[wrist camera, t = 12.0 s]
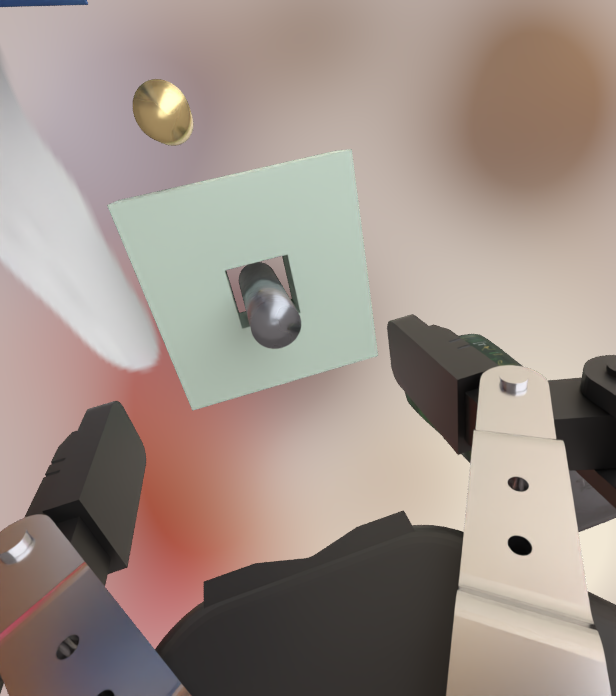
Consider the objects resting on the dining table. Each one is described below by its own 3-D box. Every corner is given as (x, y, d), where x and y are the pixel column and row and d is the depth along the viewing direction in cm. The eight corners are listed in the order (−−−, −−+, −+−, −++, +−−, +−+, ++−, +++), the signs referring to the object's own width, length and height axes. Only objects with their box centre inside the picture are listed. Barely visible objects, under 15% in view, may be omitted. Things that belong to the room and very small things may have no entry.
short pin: (138, 98, 25) (123, 85, 21) (184, 89, 25) (179, 74, 21) (155, 150, 26) (145, 147, 22) (199, 140, 27) (197, 136, 22)
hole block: (118, 200, 27) (107, 205, 24) (336, 150, 29) (351, 149, 26) (193, 388, 35) (192, 410, 32) (363, 339, 36) (377, 355, 33)
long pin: (234, 267, 31) (244, 309, 22) (271, 257, 31) (295, 295, 23) (244, 302, 32) (258, 354, 24) (279, 292, 33) (305, 341, 24)
